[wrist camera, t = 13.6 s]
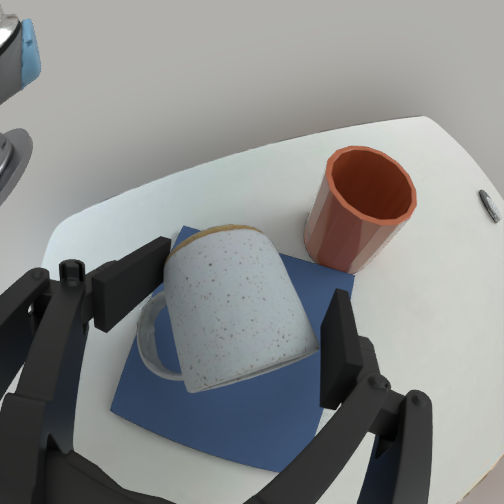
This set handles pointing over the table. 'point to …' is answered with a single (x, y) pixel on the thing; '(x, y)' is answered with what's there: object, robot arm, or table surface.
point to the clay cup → (357, 208)
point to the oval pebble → (490, 206)
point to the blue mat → (236, 388)
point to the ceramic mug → (227, 310)
